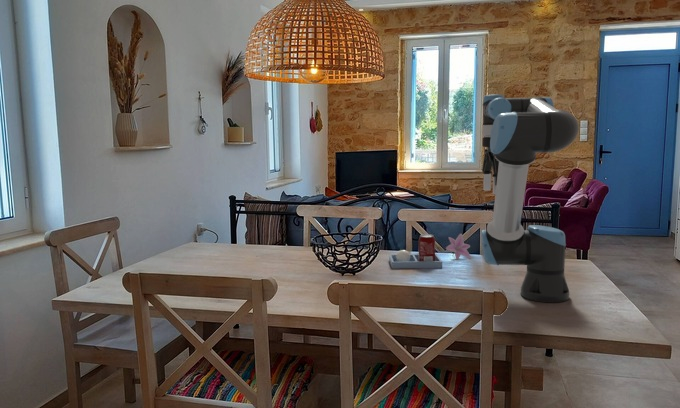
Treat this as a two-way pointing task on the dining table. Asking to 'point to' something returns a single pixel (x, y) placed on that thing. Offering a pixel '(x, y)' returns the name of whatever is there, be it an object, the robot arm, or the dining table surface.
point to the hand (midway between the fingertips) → (491, 192)
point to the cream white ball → (403, 256)
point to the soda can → (426, 248)
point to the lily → (458, 247)
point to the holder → (415, 262)
